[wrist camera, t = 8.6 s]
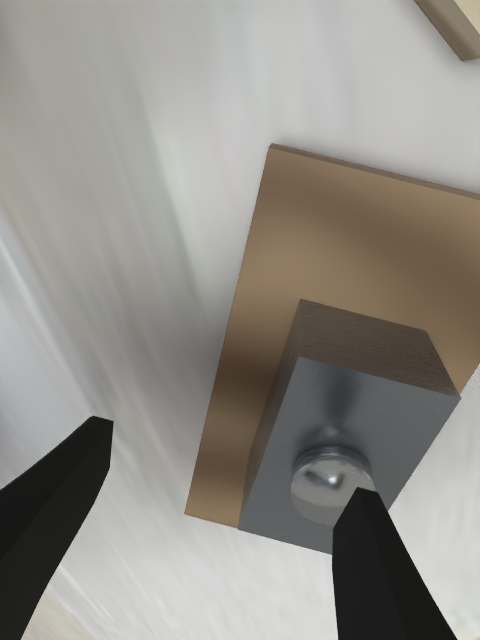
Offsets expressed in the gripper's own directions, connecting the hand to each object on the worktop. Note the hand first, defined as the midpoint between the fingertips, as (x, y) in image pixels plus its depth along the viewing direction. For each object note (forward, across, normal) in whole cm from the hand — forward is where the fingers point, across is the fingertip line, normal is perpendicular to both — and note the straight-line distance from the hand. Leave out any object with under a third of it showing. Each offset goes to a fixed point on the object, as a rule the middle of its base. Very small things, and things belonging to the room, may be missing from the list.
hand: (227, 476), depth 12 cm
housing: (+6, -4, +1) cm, 7 cm away
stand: (+9, -4, +2) cm, 10 cm away
